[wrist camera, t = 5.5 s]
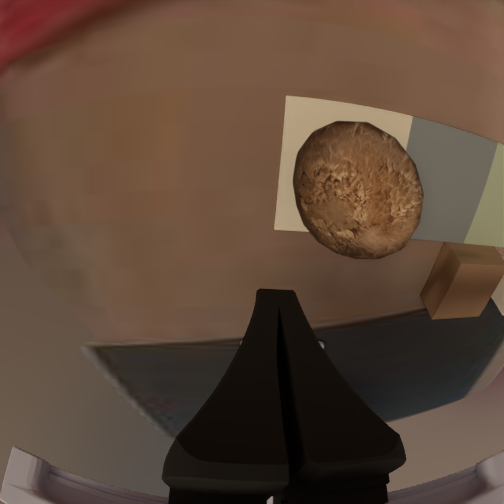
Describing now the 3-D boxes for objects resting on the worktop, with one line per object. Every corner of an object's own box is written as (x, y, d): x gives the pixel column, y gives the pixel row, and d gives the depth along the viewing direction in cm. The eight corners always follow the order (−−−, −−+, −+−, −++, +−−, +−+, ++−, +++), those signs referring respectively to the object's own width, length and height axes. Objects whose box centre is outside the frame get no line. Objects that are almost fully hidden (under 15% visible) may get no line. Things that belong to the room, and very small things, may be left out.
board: (516, 247, 22) (517, 248, 22) (274, 228, 21) (274, 229, 21) (548, 164, 16) (549, 165, 16) (286, 95, 16) (286, 95, 16)
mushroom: (460, 169, 14) (448, 226, 11) (388, 239, 21) (354, 299, 18) (354, 82, 16) (304, 106, 12) (304, 169, 22) (253, 212, 19)
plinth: (466, 294, 25) (478, 316, 23) (420, 295, 25) (431, 319, 23) (491, 244, 22) (508, 265, 19) (444, 240, 22) (461, 263, 19)
